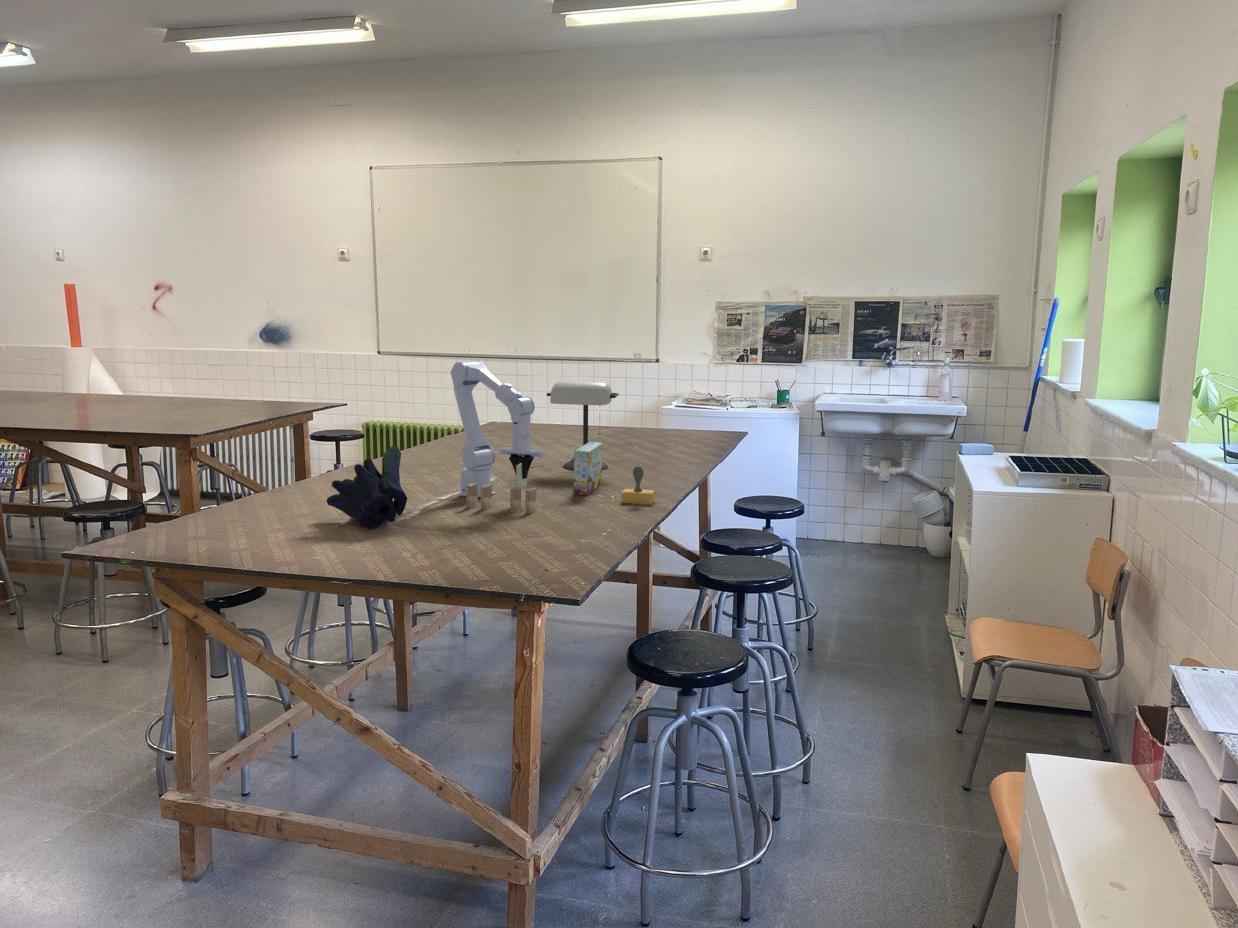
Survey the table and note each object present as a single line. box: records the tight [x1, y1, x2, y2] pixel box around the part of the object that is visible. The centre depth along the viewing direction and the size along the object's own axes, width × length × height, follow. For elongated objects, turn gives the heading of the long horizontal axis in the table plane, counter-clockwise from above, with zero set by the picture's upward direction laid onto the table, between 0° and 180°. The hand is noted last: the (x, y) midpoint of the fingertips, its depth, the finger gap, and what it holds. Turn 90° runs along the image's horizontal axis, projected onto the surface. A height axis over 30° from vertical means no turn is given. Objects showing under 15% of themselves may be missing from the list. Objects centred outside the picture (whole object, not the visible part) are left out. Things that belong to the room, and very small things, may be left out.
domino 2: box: [480, 484, 493, 511], centre depth 277 cm, size 2×4×7 cm, turn 161°
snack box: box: [572, 441, 604, 496], centre depth 306 cm, size 21×6×15 cm, turn 169°
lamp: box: [546, 381, 620, 471], centre depth 343 cm, size 26×24×34 cm
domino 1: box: [465, 483, 479, 509], centre depth 279 cm, size 2×4×7 cm, turn 162°
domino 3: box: [509, 486, 522, 513], centre depth 274 cm, size 2×4×7 cm, turn 162°
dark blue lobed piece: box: [325, 445, 408, 530], centre depth 261 cm, size 21×26×30 cm
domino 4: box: [515, 463, 528, 488], centre depth 284 cm, size 2×4×7 cm, turn 161°
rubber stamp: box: [620, 465, 656, 506], centre depth 288 cm, size 10×6×12 cm, turn 78°
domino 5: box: [524, 487, 537, 515], centre depth 273 cm, size 2×4×7 cm, turn 162°
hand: (521, 478), depth 284 cm, fingers closed on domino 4, 1 cm apart
